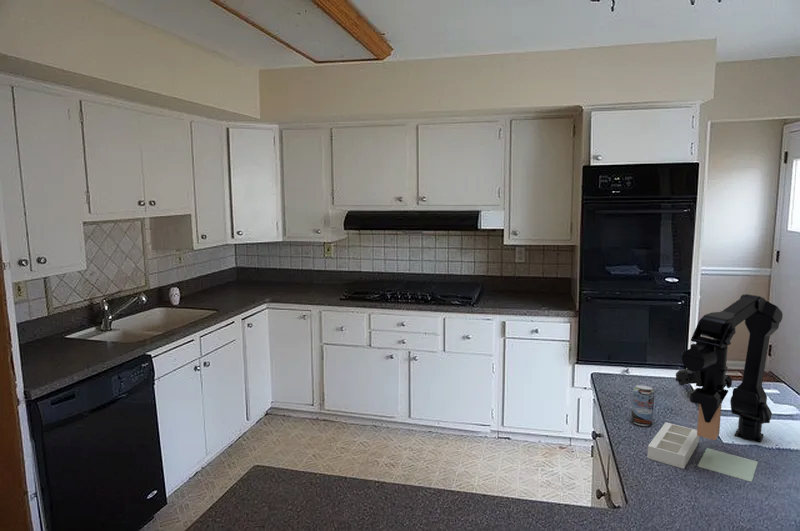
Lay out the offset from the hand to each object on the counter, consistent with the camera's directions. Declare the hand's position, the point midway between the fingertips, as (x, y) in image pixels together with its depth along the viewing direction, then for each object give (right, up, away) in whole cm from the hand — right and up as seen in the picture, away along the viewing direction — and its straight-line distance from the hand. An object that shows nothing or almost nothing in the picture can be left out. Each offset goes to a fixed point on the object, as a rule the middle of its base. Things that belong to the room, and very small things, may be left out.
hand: (709, 419), depth 143 cm
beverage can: (-7, -8, +24) cm, 26 cm away
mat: (+4, -12, -1) cm, 13 cm away
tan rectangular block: (0, -4, +1) cm, 4 cm away
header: (-6, -11, +7) cm, 14 cm away
